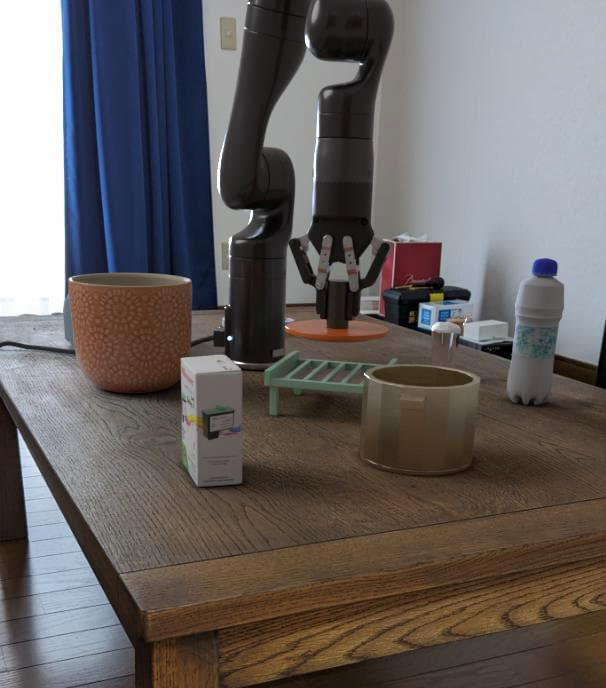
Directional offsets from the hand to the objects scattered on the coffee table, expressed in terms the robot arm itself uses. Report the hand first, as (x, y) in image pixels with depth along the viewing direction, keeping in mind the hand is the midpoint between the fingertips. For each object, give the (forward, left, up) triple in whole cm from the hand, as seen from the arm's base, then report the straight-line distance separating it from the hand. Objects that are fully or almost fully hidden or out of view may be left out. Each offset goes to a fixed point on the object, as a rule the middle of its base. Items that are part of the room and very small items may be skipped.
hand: (337, 318), depth 119 cm
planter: (-30, +2, -12) cm, 33 cm away
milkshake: (+13, +24, -12) cm, 30 cm away
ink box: (-6, -33, -12) cm, 36 cm away
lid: (0, 0, -2) cm, 2 cm away
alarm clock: (-45, +30, -12) cm, 56 cm away
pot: (+14, -20, -12) cm, 27 cm away
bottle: (+26, +14, -12) cm, 32 cm away
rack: (0, 0, -12) cm, 12 cm away
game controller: (-28, +59, -12) cm, 66 cm away
